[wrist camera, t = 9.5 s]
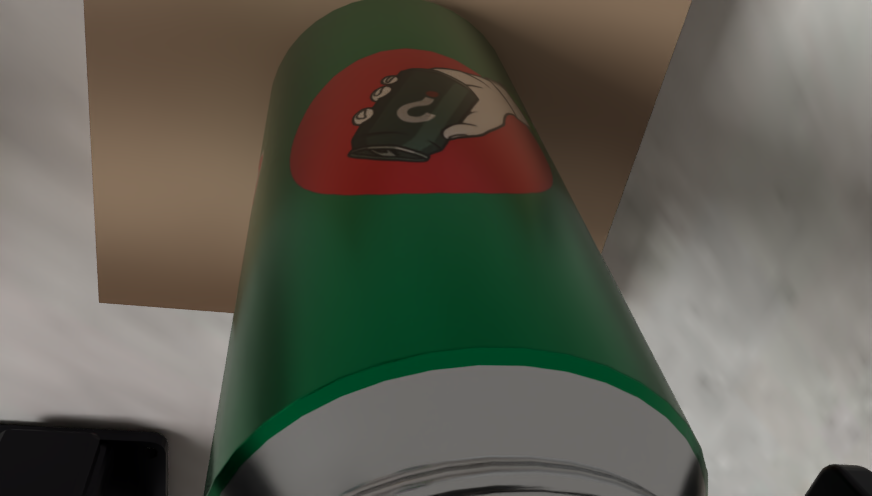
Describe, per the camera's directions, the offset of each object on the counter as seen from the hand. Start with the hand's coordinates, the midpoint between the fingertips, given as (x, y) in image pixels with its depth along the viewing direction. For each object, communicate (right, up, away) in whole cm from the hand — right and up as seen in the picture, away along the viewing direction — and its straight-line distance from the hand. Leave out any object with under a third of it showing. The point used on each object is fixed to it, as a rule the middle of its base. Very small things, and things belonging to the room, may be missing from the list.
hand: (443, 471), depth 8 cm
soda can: (-1, +5, +9) cm, 10 cm away
